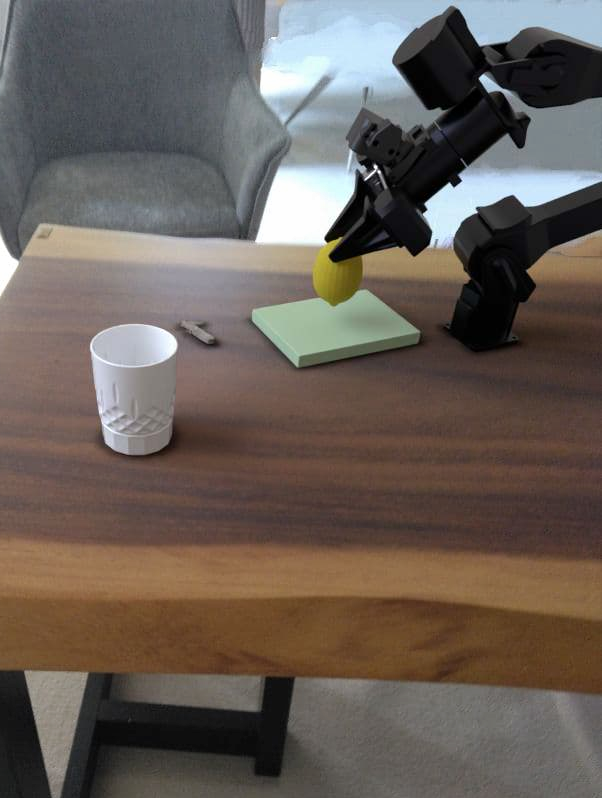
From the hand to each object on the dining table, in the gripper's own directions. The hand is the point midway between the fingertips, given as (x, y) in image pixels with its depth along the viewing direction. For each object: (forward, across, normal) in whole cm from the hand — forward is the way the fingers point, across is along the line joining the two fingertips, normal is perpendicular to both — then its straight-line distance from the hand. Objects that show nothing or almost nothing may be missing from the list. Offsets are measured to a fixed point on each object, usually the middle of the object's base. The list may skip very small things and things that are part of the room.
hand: (328, 250), depth 88 cm
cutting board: (+6, 0, +8) cm, 10 cm away
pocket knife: (+17, +1, -3) cm, 17 cm away
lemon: (+4, 0, +6) cm, 7 cm away
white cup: (+21, +22, -7) cm, 32 cm away
